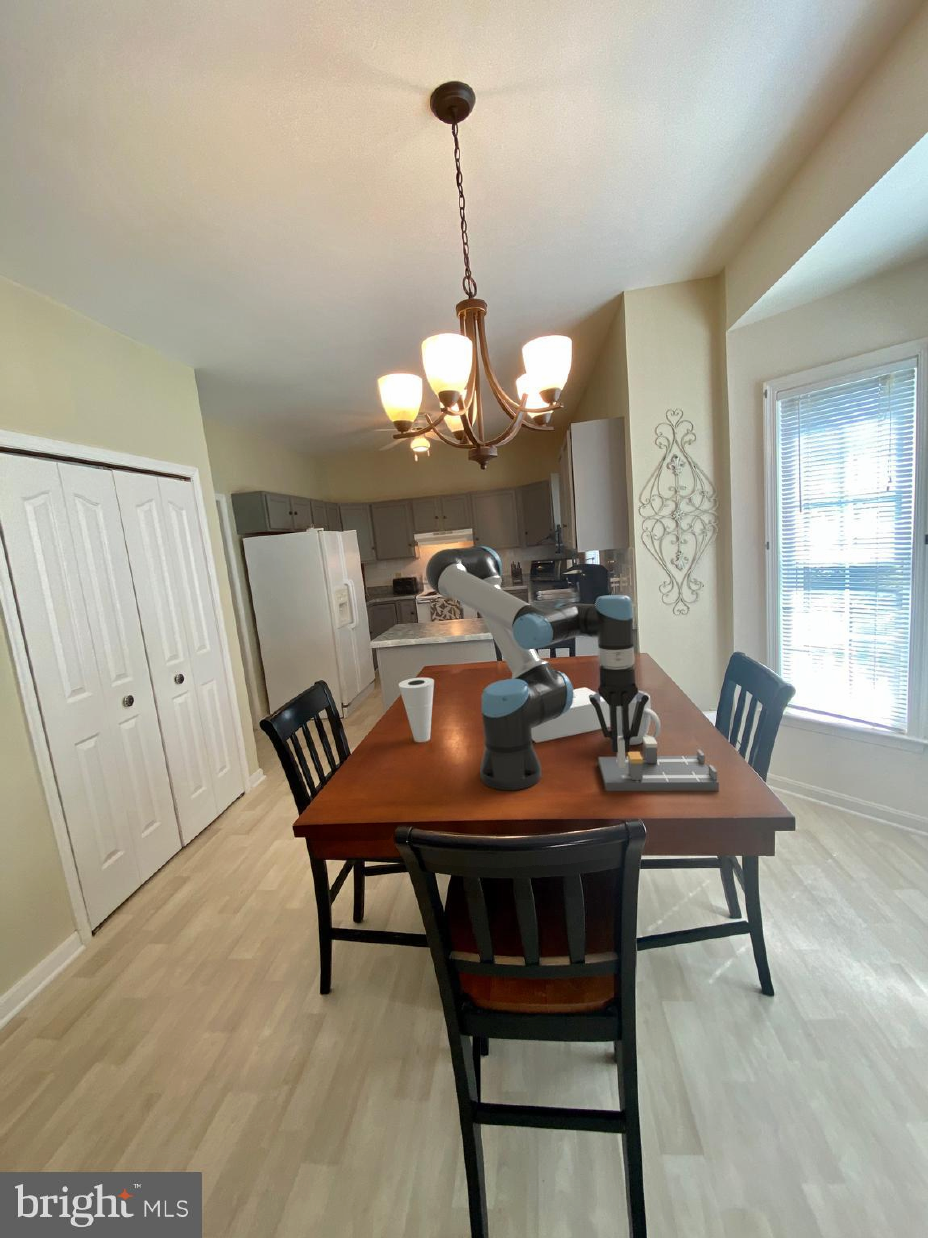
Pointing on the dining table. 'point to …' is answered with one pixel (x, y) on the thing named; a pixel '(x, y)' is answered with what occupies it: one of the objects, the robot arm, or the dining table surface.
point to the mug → (644, 721)
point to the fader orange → (635, 765)
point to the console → (661, 774)
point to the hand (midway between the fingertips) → (621, 765)
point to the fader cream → (650, 749)
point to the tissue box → (573, 718)
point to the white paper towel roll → (418, 705)
